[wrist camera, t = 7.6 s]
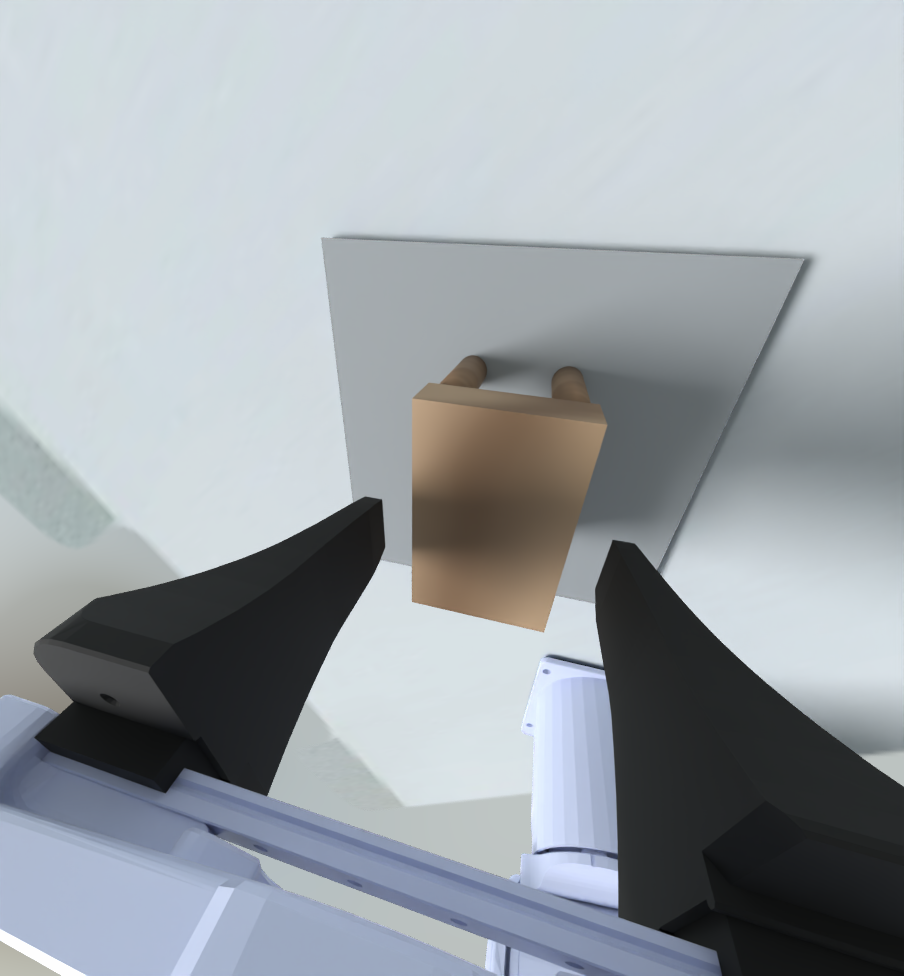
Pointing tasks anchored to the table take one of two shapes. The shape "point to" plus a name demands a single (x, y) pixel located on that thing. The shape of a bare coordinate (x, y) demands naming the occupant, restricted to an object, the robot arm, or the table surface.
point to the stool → (498, 492)
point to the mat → (553, 365)
